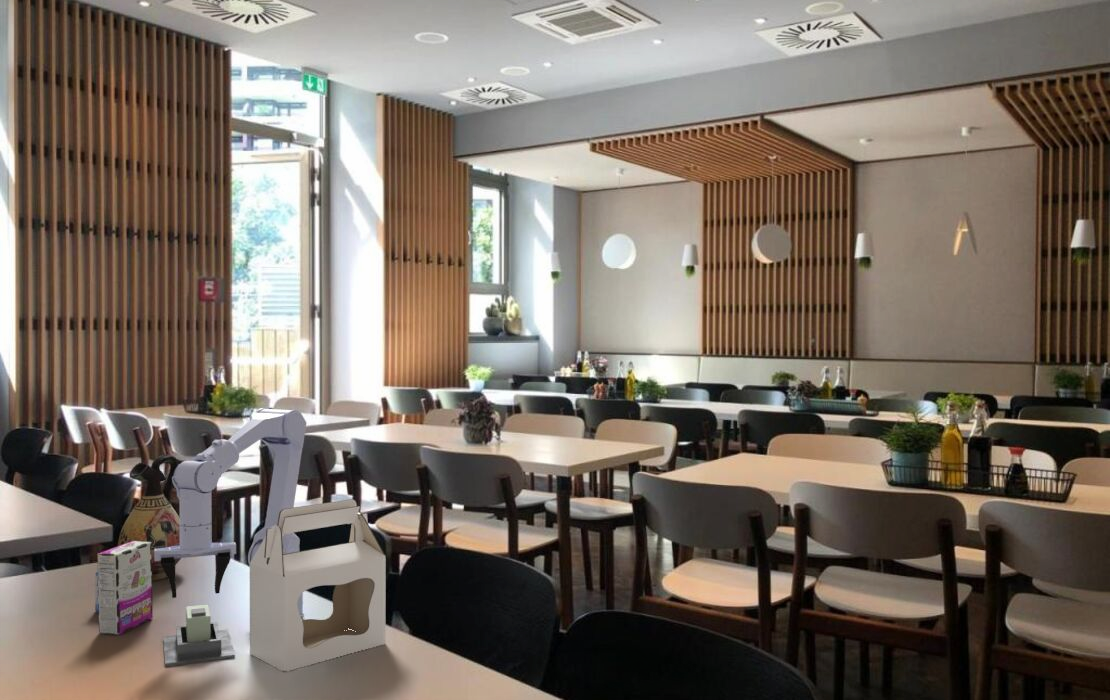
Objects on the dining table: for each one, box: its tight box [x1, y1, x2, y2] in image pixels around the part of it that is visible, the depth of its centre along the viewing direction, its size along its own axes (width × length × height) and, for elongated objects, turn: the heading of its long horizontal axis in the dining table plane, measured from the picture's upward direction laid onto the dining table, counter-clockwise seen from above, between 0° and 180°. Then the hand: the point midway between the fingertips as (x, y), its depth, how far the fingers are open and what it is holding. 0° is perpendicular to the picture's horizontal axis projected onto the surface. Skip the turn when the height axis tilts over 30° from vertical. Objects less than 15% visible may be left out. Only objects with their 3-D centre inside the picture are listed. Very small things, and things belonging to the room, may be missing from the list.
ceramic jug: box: [117, 454, 182, 581], centre depth 231 cm, size 17×15×30 cm
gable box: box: [249, 499, 387, 673], centre depth 179 cm, size 22×13×28 cm, turn 135°
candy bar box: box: [96, 541, 154, 636], centre depth 192 cm, size 11×5×16 cm, turn 168°
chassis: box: [163, 621, 236, 668], centre depth 179 cm, size 12×16×3 cm
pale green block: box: [185, 604, 211, 643], centre depth 180 cm, size 4×8×6 cm, turn 24°
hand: (195, 594), depth 179 cm, fingers open, 7 cm apart
